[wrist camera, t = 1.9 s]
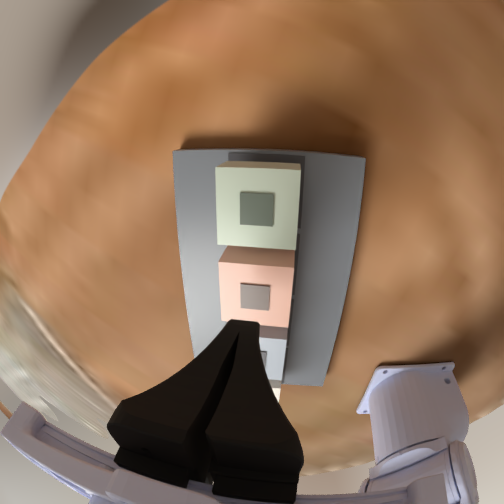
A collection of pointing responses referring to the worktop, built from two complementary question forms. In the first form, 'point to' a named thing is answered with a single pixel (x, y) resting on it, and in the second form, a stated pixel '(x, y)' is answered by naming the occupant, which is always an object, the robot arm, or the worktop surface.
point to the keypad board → (306, 254)
